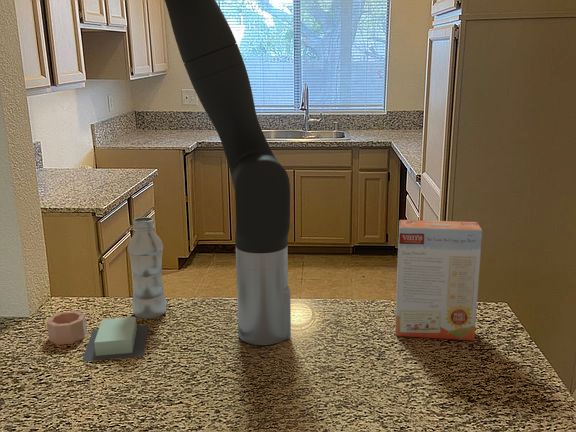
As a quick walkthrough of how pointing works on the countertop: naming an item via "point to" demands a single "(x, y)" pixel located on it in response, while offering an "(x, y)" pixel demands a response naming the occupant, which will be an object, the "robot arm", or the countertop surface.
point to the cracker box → (437, 279)
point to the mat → (137, 352)
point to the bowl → (66, 327)
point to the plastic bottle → (146, 270)
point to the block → (116, 336)
